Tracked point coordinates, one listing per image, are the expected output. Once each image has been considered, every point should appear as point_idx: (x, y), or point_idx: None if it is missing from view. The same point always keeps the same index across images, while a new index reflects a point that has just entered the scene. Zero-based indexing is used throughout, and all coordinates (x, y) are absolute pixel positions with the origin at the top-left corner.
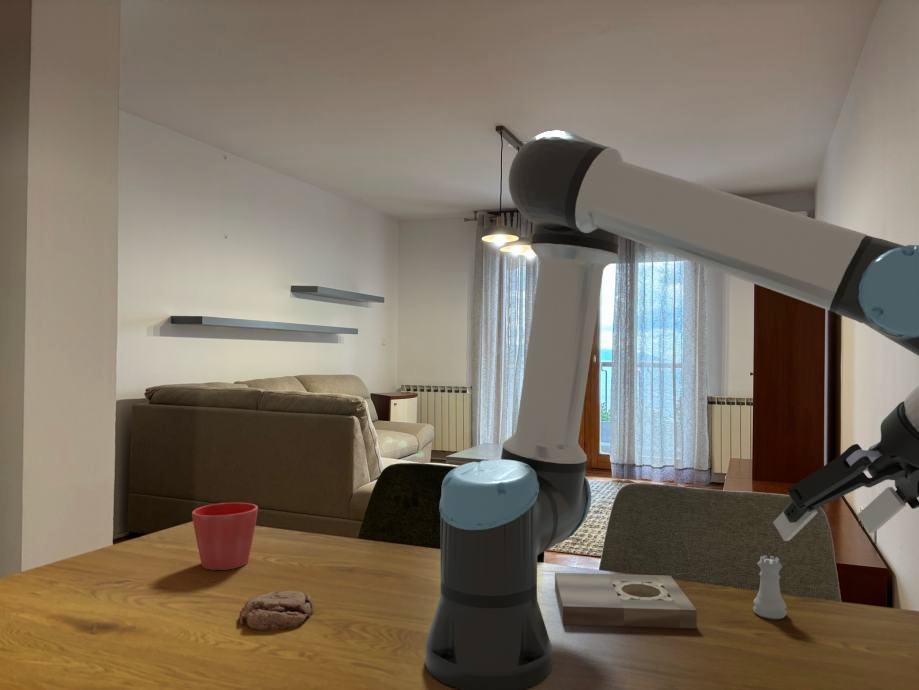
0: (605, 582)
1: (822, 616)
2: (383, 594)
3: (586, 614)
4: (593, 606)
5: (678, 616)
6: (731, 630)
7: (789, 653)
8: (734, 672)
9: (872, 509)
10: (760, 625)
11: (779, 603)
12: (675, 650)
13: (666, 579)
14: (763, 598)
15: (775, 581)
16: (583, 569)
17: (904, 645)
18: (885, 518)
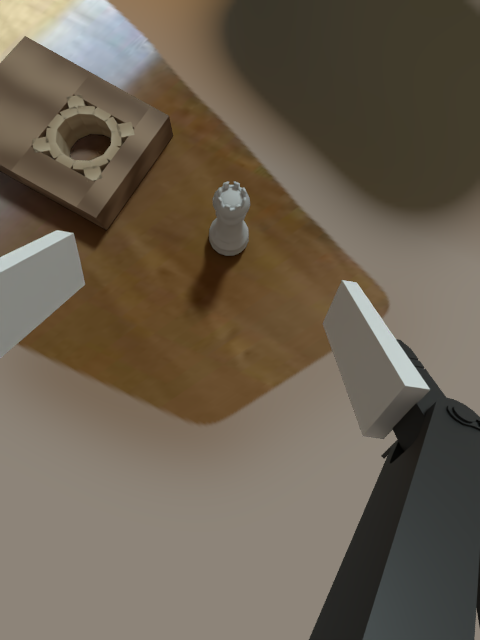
0: (62, 94)
1: (282, 271)
2: None
3: None
4: None
5: (79, 211)
6: (142, 251)
7: (149, 324)
8: (46, 330)
9: (351, 324)
10: (187, 256)
11: (228, 244)
12: None
13: (150, 123)
14: (214, 229)
15: (227, 226)
16: (128, 30)
17: (294, 367)
18: (340, 367)
